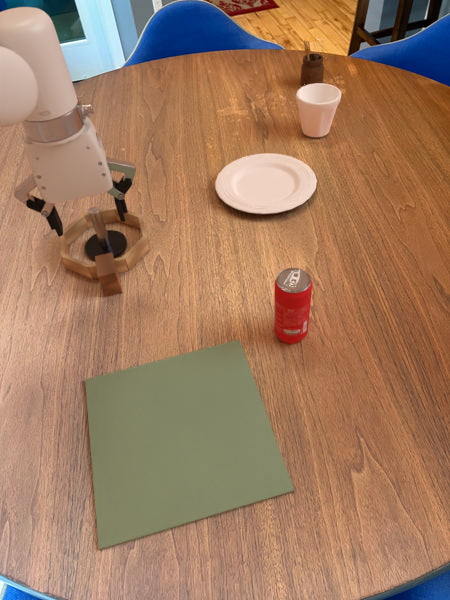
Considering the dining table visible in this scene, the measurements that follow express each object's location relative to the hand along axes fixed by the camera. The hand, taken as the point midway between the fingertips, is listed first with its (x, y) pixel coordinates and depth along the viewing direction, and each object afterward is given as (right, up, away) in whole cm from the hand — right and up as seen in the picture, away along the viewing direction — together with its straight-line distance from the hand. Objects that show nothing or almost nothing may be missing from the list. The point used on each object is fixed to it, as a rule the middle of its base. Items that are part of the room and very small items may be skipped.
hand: (91, 223), depth 74 cm
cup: (+42, +28, +39) cm, 64 cm away
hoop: (-1, -4, +15) cm, 16 cm away
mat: (+14, -30, -9) cm, 34 cm away
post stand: (-2, -2, +17) cm, 17 cm away
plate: (+29, +11, +26) cm, 40 cm away
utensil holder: (+44, +46, +55) cm, 84 cm away
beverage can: (+31, -17, +1) cm, 35 cm away
